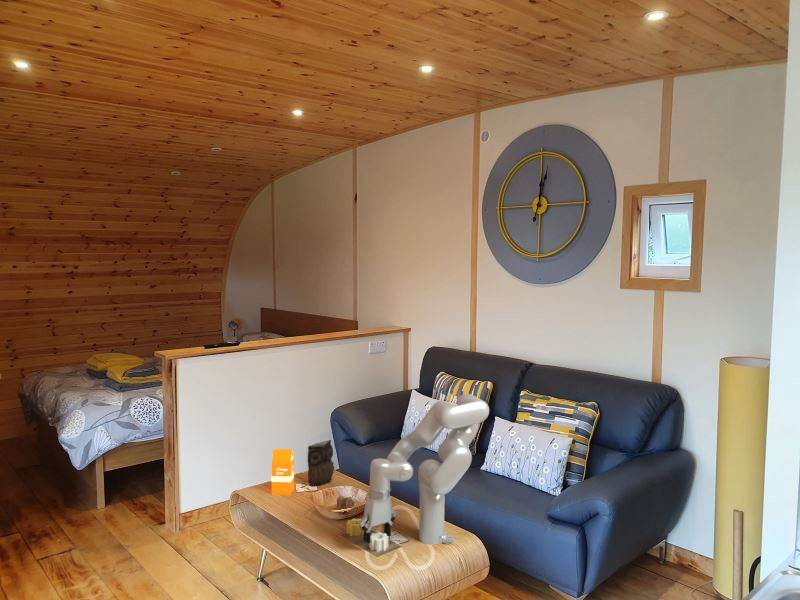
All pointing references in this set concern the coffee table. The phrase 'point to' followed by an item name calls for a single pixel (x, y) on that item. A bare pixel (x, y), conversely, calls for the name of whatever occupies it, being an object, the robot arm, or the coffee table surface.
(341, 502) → the lion figurine
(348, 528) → the gear
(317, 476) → the owl
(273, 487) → the orange juice
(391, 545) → the gear board
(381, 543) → the loose gear
